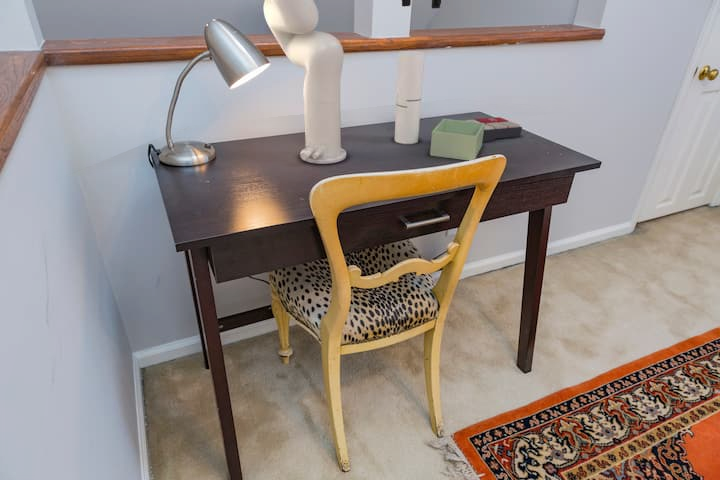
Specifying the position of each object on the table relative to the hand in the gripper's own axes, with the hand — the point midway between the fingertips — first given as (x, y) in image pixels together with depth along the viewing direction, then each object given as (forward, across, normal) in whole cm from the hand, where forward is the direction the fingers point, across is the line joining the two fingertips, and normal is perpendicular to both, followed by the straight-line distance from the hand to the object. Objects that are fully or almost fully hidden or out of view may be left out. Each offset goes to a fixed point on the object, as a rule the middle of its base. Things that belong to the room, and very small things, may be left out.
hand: (420, 7), depth 131 cm
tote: (+36, +16, -1) cm, 40 cm away
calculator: (+36, +16, +20) cm, 45 cm away
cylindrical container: (+36, 0, -3) cm, 37 cm away
